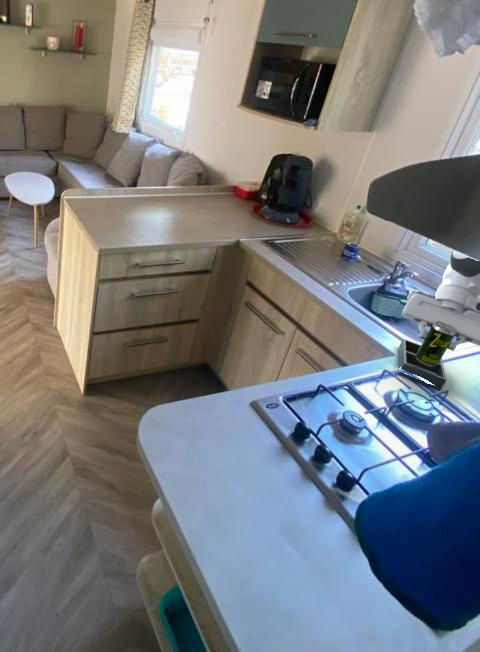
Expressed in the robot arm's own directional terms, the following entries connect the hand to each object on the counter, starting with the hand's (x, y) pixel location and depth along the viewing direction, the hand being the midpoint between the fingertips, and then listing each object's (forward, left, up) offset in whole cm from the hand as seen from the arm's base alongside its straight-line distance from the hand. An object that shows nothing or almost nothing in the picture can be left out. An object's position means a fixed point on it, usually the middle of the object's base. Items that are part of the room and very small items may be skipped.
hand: (436, 343), depth 118 cm
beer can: (0, -1, -7) cm, 7 cm away
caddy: (0, -5, -12) cm, 13 cm away
